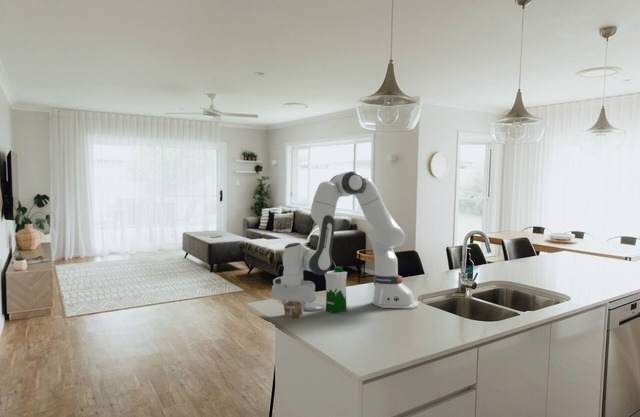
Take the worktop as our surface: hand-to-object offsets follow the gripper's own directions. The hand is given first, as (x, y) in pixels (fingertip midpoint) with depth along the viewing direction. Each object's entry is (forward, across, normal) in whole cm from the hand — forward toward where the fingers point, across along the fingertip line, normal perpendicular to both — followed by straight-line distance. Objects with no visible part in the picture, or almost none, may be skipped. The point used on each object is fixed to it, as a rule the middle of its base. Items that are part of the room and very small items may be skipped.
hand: (293, 310), depth 186 cm
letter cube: (+2, 0, 0) cm, 2 cm away
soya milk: (+2, -15, -14) cm, 21 cm away
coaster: (+2, -2, -15) cm, 15 cm away
